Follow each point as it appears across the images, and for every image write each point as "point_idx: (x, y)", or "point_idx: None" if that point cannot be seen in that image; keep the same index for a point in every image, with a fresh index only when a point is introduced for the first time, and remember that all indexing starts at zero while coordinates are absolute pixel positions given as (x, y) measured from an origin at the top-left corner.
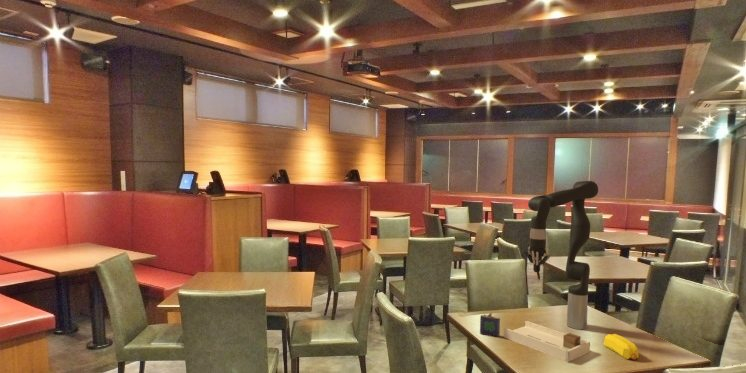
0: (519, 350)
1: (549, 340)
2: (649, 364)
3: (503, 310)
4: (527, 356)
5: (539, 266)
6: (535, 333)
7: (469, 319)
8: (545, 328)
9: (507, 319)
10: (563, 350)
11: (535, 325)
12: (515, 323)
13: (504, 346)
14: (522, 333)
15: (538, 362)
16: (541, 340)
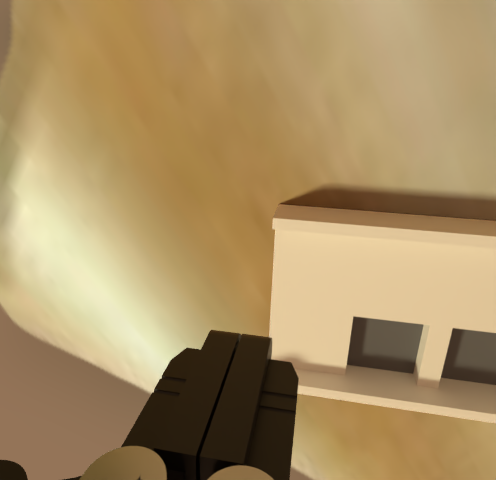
0: (384, 425)
1: (462, 307)
2: None
3: (17, 22)
4: (433, 451)
5: (282, 472)
6: (367, 274)
7: (51, 290)
8: (406, 239)
9: (133, 146)
10: None
11: (339, 232)
12: (194, 166)
13: (323, 429)
14: (323, 319)
15: (489, 469)
16: (430, 332)
